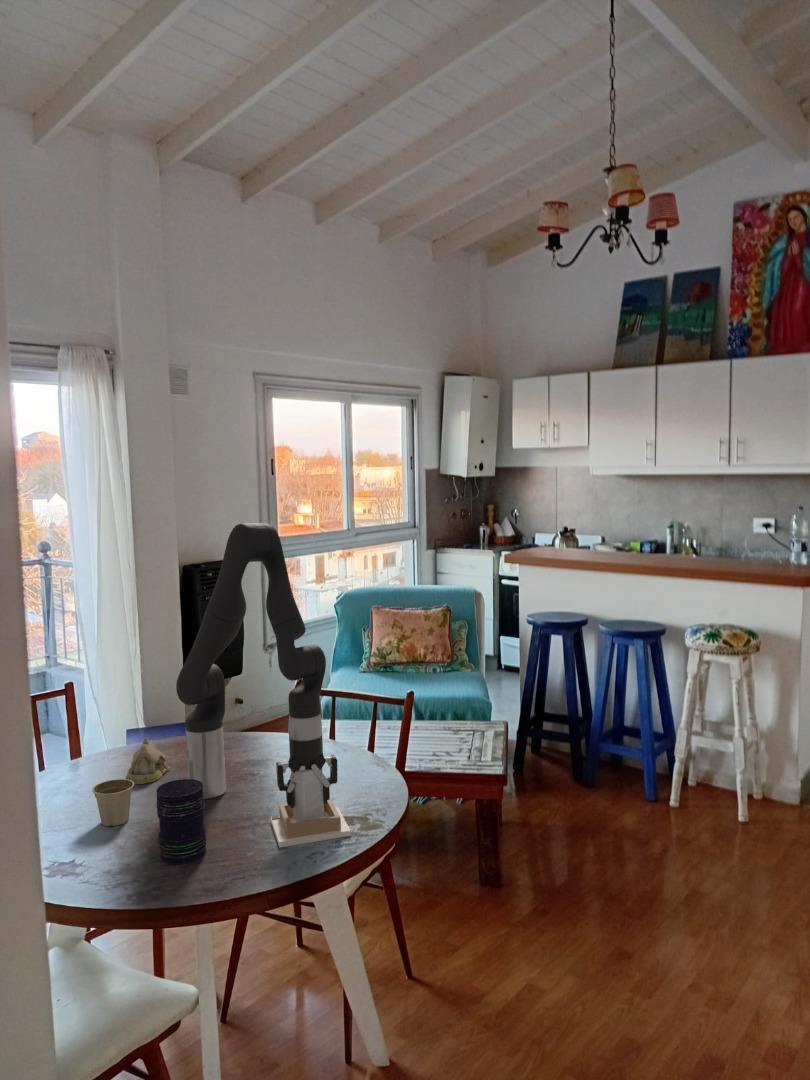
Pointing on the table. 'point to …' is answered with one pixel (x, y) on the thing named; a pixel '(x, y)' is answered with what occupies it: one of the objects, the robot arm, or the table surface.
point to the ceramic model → (147, 764)
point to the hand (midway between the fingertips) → (308, 804)
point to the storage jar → (181, 822)
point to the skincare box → (308, 796)
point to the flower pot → (113, 801)
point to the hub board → (308, 826)
